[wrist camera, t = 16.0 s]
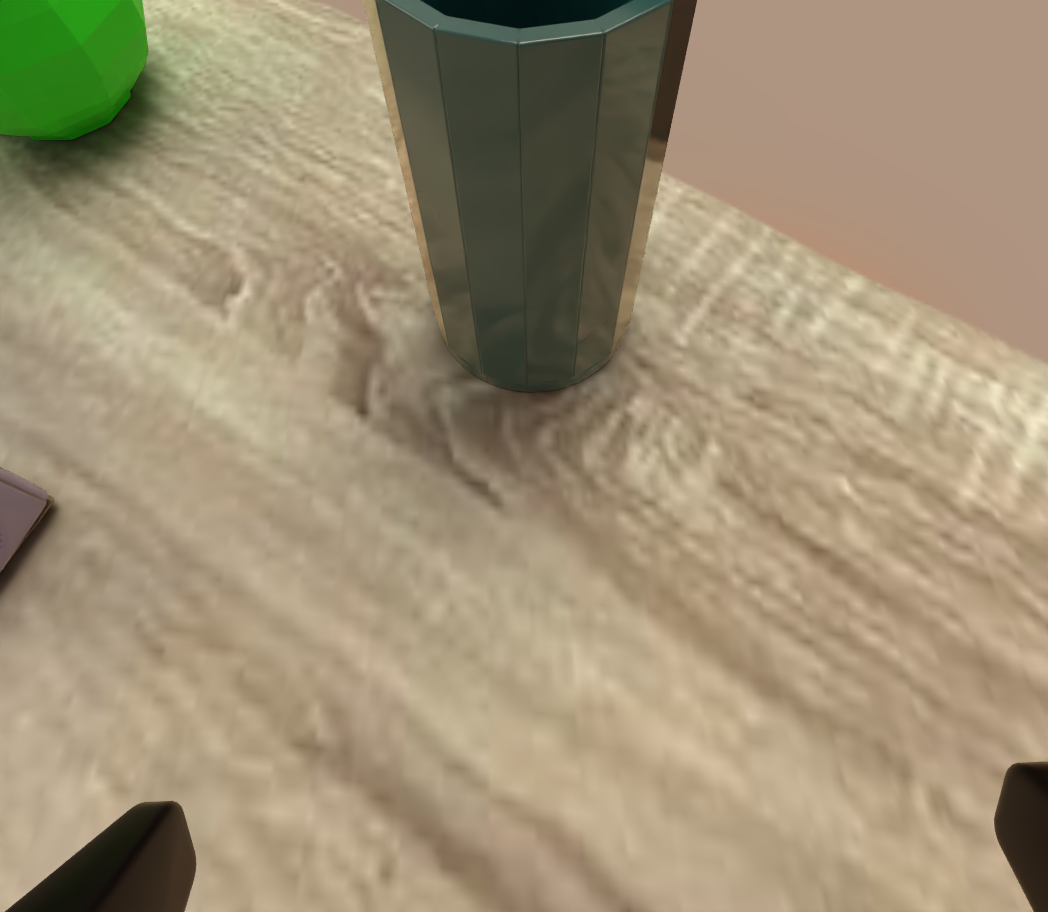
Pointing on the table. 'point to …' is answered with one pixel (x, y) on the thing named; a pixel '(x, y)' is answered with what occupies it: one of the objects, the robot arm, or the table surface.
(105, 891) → the robot arm
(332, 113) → the table surface
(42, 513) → the cake pan box
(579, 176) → the teal and beige cup
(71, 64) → the plastic bottle
